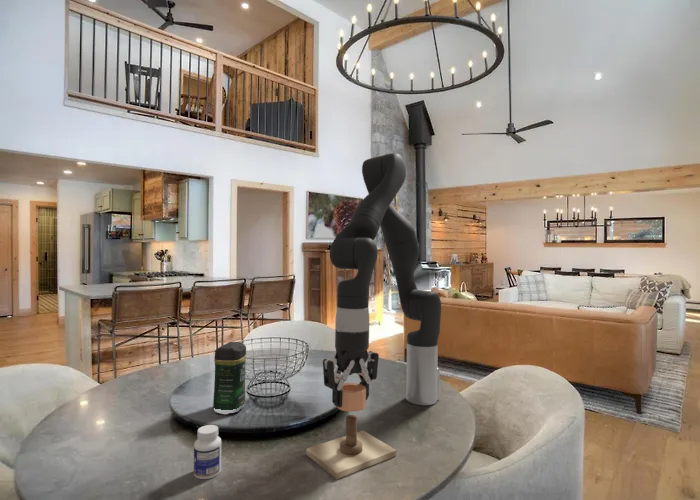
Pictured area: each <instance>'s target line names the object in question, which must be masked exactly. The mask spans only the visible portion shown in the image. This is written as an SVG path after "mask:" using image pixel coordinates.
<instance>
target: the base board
mask: <svg viewBox="0 0 700 500" xmlns="http://www.w3.org/2000/svg"><path fill="white" fill-rule="evenodd" d="M345 439H346V435H344V436H340V437H338V438H335V439H332V440H329V441H325V442H322V443H318V444H317V445H313V446H310V447H308V448H306V449H305V455H307V457H308V458H310V459H311V460H313V461H314V462H315V463H316V464H317V465H318V466H319V467H321V468H322V469H323V470H324V471H326V473H328V474H329V475H331V477H333V478H334V479H335V480H338V479H341V478H344V477H346V476H349V475H351V474H355V473H356V472H359V471H361V470H364V469H366V468H369V467H372V466H374V465H376V464H379V463H381V462H384V461H387V460H390V459H392V458H394V457H396V456H397V450H396V449H395V448H394V447H391V446H390V445H389V444H387V443H384V442H383V441H381V440H380V439H378V438H377V437H375V436H373V435H371V434H370V433H368V432H366V431H365V430H359V431H357V440H359V441H361V442H362V452H361V453H360V454H357V455H346V454H343V453H342V452H341V451H340V442H341V441H343V440H345Z"/></svg>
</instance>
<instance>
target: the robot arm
mask: <svg viewBox="0 0 700 500" xmlns="http://www.w3.org/2000/svg"><path fill="white" fill-rule="evenodd" d="M406 169H407V168H406V164H405V162H404V158H403V157H402V155H400V154H399V153H396V152H392V153H391V152H390V153H385V154H383V155H379V156H375V157H371V158H368V159H365V160H364V161H363V163H362V166H361V173H362V179H363V182H364V185H365V188H366V190H367V193H368V194H367V195H366V196H365V197H364V198H363V199H362V200H360V202H359V203H358V204H357V207H356V208H355V210H354V213H353V215H352V217H351V218H350V221H349V223H348V224H347V225H345V227H344V228H343V229H342V230H341V231H340V232H339V233H338V234H337V235H336V237H334V239H333V241H332V242H331V244H330V249H329V260H330V262H331V264H332V265H333V266H334V267H335V268H337V269H340V270H341V269H342V270H357V272H356V275H355V276H354V277H353V278H349V279H345V280H341V281H339V282H338V284H337V286H336V287H337V288H336V313H335V325H334V326H335V327H334V328H335V330H334V333H335V334H334V348H335V351H336V352H335V355H334V357H333V358H329V359H327V358H324V359H323V360H322V372H323V374H322V375H323V384H324V386H325V387H327V388H329V389H331V390H332V393H331V394H332V397H331V398H332V399H331V401H332V404H333V405H334V407H336V408H337V407H342V390H341V389H342V386H343V384H344V383H346V382H345V381H347V380H348V378H349V376H351V375H354V374H355V375H356V374H357V375H358V378H359V380H360V381H359V384H361V385H363V386H365V388H366V401H367V400H368V398H369V396H370V383H371V381H373V380H374V381H375V380H377V377H378V366H379V357H380V355H379V353H377V352H375V351H372V350H370V351H368V349H369V347H370V312H369V297H370V294H369V292H370V285H371V281H372V276H373V273H374V269H375V266H376V264H377V259H378V256H379V255H378V254H379V252H378V247H377V243H376V242H375V241H374V240H375V239H376V238H377V235H378V233H379V230H380V229H381V233H382V236H383V241H384V244H385V248H386V250H387V254H388V257H389V260H390V262H391V266H392V270H393V274H394V277H395V281H396V286H397V290H398V296H399V303H400V306H401V310H402V312H403V314H404V316H405V317H406V318H407V319H409V320H412V321H419V322H420V325H419V329H418V330H415V331H410V332H408V334H407V336H406V389H405V390H406V391H405V393H406V394H405V396H406V397H405V399H406V401H407V402H408V403H411V404H412V405H416V406H432V405H435V404H436V403H437V402H438V401H439V400H440V372H441V370H440V368H439V367H438V361H439V360H438V355H439V354H438V353H439V351H438V350H439V349H438V348H439V347H438V343H439V342H438V341H439V337H440V333H441V332H440V331H441V319H442V318H441V317H442V302H441V298H440V296H439V294H438V293H437V292H435V291H430V290H429V291H428V290H421V289H420V290H419V289H418V288H417V284H416V280H415V274H414V273H415V269H416V268H417V267H416V266H417V263H418V260H419V256H420V252H421V249H420V244H419V241H418V237H417V233H416V231H415V228H414V226H413V224H412V223H411V222H410V221H409V220H408V219H407V218H406V217H405V216H404V215H402V214H401V212H399V210H397V209H396V208H395V207H394V205H393V204H392V202H393V201H394V199H395V197H396V196H397V194H398V192H399V191H400V190H401V188H402V187H403V184H404V183H405V180H406V176H407V170H406ZM341 373H342V374H341Z"/></svg>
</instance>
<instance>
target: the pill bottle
mask: <svg viewBox="0 0 700 500" xmlns="http://www.w3.org/2000/svg"><path fill="white" fill-rule="evenodd" d="M196 434H197V435H196V436H197V439H195V441H194V443H193V476H194V477H195V478H197V479H200V480H208V479H212V478H215V477H216V476H218V475H219V474H220V473H221V471H222V445H223V444H222V443H223V442H222V438H221V437H220V436H219V427H218V426H217V425H215V424H207V425H203V426H201V427H199V428H198V429H197V433H196Z"/></svg>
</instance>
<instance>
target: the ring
mask: <svg viewBox="0 0 700 500" xmlns="http://www.w3.org/2000/svg"><path fill="white" fill-rule="evenodd" d="M341 390H342V407H337V406H336V409H339V410H340V411H342V412H343V411H344V412H350V413H351V412H354V413H355V412H358V411H363V410H364V409H365V408H366V407H367V405H366V404H367V400H366V388H365V386H363V385H361V384H360V383H356V382H344V384H343V386H342V389H341Z"/></svg>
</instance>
